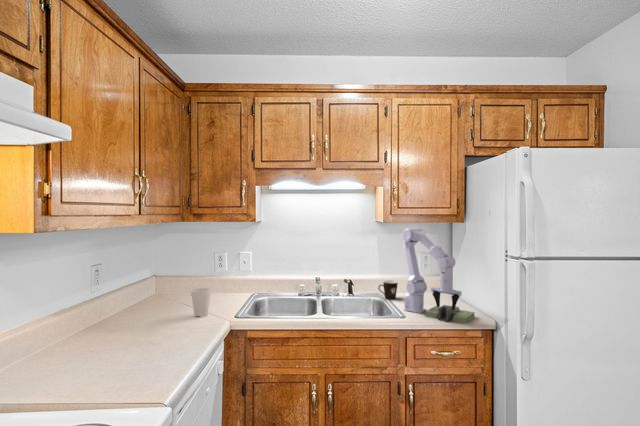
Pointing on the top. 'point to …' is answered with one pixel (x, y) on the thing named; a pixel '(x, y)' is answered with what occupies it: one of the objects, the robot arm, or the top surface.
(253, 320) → the top surface
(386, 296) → the coffee mug
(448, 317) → the chute
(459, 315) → the notched green slab
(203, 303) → the foam cup
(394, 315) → the top surface
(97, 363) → the top surface
